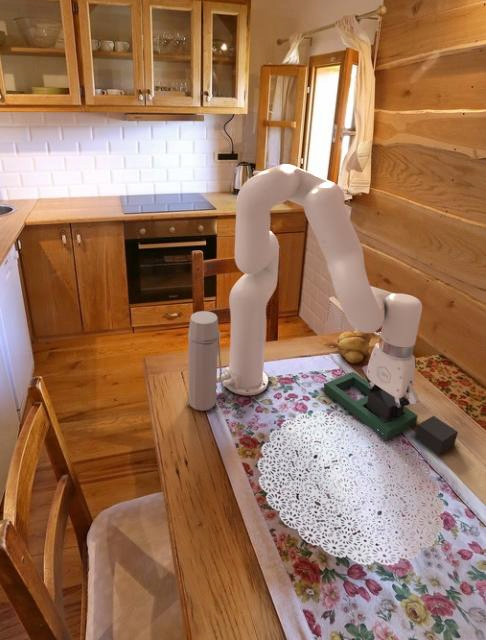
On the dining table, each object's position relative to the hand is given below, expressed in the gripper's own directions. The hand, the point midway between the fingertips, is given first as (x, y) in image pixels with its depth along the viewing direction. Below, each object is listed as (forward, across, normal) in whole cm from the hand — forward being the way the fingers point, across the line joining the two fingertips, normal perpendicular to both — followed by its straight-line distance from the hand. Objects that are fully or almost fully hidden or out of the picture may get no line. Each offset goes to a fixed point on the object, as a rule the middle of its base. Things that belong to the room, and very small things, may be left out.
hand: (384, 408), depth 101 cm
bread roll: (+3, -24, +15) cm, 28 cm away
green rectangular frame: (+3, -5, 0) cm, 6 cm away
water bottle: (+3, -27, -36) cm, 45 cm away
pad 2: (+3, +11, +4) cm, 12 cm away
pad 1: (+1, 0, 0) cm, 1 cm away
